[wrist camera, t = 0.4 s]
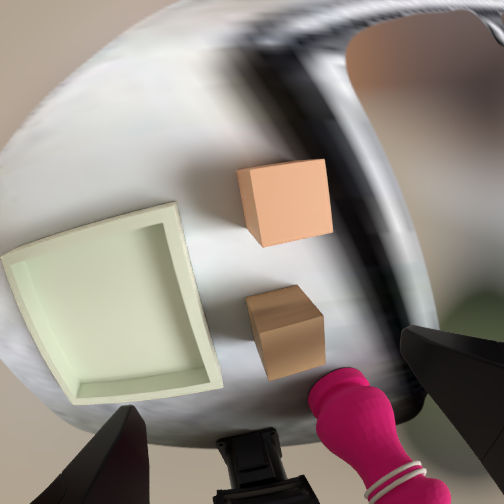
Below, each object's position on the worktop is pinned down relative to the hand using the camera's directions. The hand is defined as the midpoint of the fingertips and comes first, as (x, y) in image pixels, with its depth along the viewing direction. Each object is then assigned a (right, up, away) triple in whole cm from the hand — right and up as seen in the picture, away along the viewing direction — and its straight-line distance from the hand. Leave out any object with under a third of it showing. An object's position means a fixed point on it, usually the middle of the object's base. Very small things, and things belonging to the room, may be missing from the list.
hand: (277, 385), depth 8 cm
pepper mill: (+8, -10, +18) cm, 22 cm away
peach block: (0, +8, +11) cm, 14 cm away
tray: (-11, 0, +11) cm, 16 cm away
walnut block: (+1, -1, +14) cm, 14 cm away
